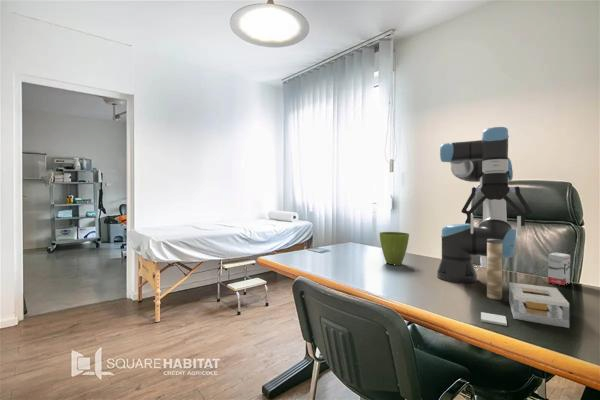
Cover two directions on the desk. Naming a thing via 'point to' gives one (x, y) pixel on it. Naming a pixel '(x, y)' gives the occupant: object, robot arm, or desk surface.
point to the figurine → (483, 261)
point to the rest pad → (493, 319)
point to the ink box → (559, 268)
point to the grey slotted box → (537, 315)
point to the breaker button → (536, 305)
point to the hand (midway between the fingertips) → (494, 234)
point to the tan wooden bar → (494, 268)
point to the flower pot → (394, 246)
